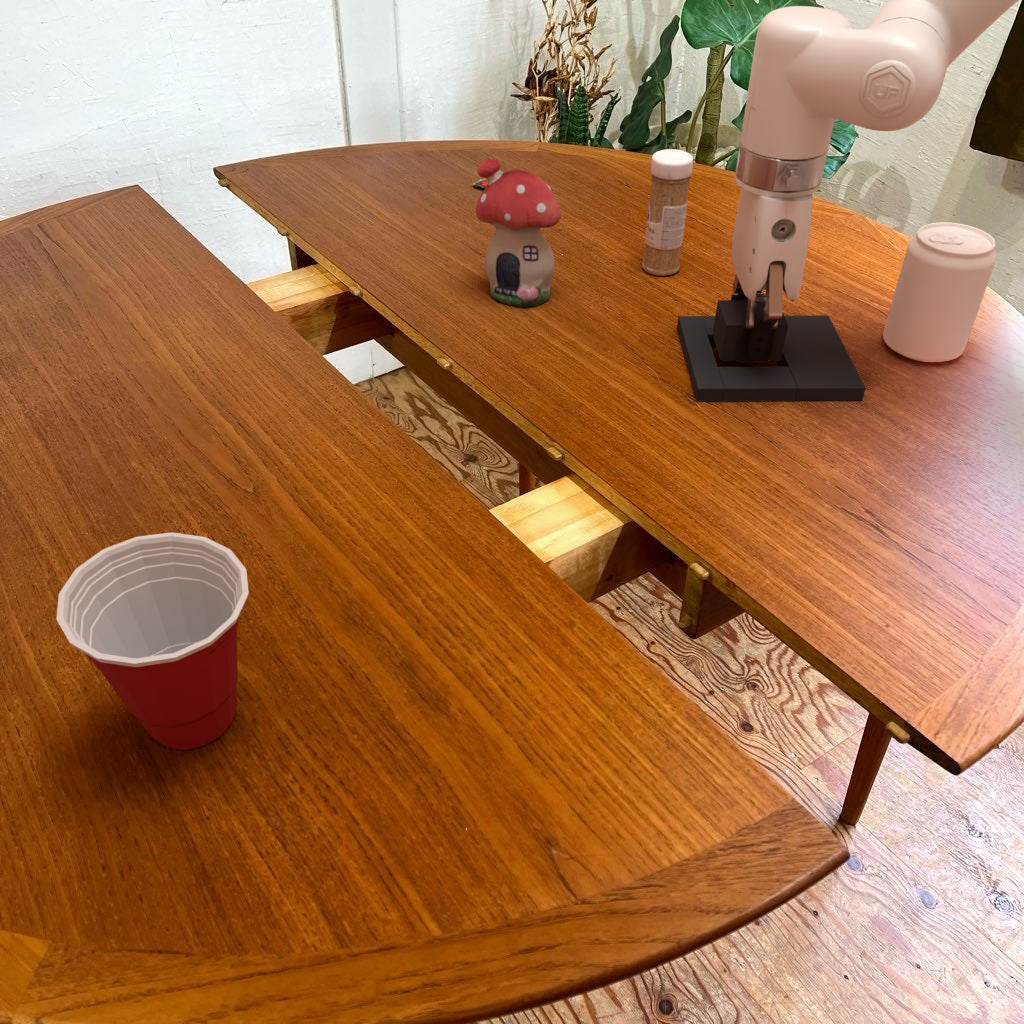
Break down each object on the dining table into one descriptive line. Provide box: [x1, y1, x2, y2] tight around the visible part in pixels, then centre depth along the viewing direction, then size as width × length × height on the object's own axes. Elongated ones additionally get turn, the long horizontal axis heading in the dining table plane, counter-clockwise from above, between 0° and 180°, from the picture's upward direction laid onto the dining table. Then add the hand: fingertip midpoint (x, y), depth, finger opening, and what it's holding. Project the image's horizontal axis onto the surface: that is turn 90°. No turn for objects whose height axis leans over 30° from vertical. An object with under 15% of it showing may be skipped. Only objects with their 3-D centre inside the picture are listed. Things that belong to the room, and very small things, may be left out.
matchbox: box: [470, 178, 488, 189], centre depth 132 cm, size 5×5×1 cm
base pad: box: [676, 315, 866, 402], centre depth 97 cm, size 16×14×2 cm
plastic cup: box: [56, 532, 250, 751], centre depth 60 cm, size 11×11×12 cm
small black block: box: [713, 299, 788, 362], centre depth 95 cm, size 6×5×4 cm
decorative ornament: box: [475, 157, 562, 308], centre depth 104 cm, size 9×6×15 cm
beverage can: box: [882, 221, 997, 363], centre depth 96 cm, size 8×8×12 cm
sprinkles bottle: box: [641, 148, 694, 277], centre depth 109 cm, size 5×5×13 cm
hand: (747, 343), depth 96 cm, fingers closed on small black block, 4 cm apart
